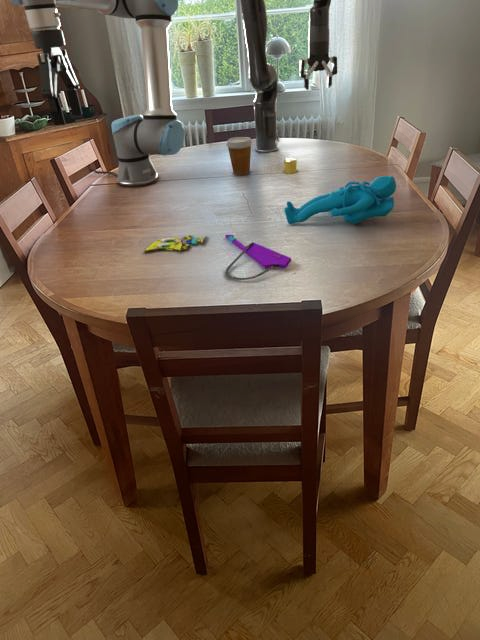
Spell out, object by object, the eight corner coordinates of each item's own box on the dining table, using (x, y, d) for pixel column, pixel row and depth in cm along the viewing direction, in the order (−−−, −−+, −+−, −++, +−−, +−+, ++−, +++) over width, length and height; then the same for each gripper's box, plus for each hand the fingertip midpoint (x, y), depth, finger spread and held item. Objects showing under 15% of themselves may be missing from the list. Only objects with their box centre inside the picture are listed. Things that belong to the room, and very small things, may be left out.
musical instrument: (267, 291, 107) (306, 245, 119) (265, 283, 105) (305, 238, 118) (184, 277, 119) (226, 237, 132) (181, 270, 118) (225, 230, 130)
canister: (282, 173, 179) (282, 161, 176) (286, 169, 182) (286, 157, 180) (294, 173, 177) (294, 161, 174) (298, 170, 180) (298, 158, 178)
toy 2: (287, 190, 142) (392, 164, 132) (296, 223, 147) (398, 200, 137) (279, 211, 128) (396, 183, 118) (290, 247, 133) (402, 223, 123)
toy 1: (199, 248, 125) (143, 249, 127) (199, 251, 125) (144, 252, 127) (206, 233, 133) (154, 234, 135) (206, 236, 133) (154, 237, 136)
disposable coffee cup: (225, 175, 181) (222, 142, 175) (234, 168, 188) (232, 136, 182) (248, 176, 178) (246, 143, 171) (257, 169, 185) (255, 136, 178)
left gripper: (40, 30, 109) (66, 128, 121) (77, 26, 130) (96, 110, 142) (9, 33, 110) (37, 130, 121) (50, 28, 131) (71, 112, 142)
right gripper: (302, 42, 171) (302, 91, 180) (340, 38, 173) (339, 88, 181) (297, 41, 177) (297, 89, 186) (334, 37, 179) (332, 85, 188)
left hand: (69, 119), depth 132 cm, fingers open, 13 cm apart
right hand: (317, 88), depth 184 cm, fingers open, 8 cm apart
